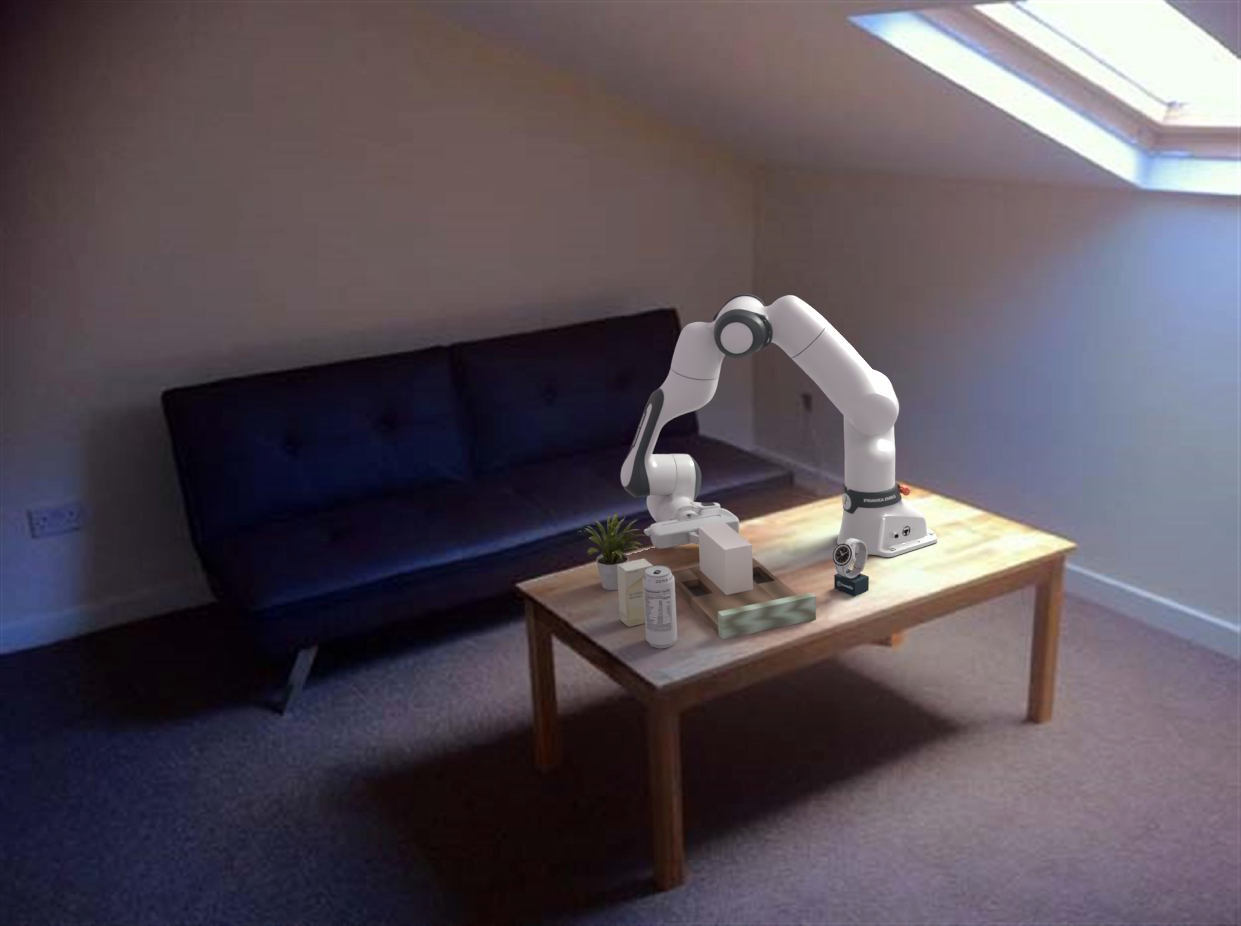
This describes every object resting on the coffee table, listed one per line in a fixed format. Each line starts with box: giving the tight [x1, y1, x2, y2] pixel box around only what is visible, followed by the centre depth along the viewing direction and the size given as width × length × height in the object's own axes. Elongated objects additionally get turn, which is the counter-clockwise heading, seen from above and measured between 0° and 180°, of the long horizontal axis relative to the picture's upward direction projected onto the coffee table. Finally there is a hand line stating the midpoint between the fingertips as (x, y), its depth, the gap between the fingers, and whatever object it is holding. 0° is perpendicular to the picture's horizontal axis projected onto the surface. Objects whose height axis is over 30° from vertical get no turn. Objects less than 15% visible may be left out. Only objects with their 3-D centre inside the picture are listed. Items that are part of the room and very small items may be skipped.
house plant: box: [578, 511, 643, 591], centre depth 237 cm, size 14×14×16 cm
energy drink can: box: [643, 565, 678, 649], centre depth 212 cm, size 6×6×15 cm
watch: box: [831, 538, 870, 597], centre depth 230 cm, size 6×8×11 cm
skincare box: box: [617, 558, 654, 628], centre depth 222 cm, size 6×4×12 cm
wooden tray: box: [671, 556, 817, 640], centre depth 229 cm, size 20×30×5 cm, turn 18°
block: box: [698, 522, 753, 595], centre depth 233 cm, size 6×14×10 cm, turn 18°
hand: (707, 542), depth 242 cm, fingers closed
